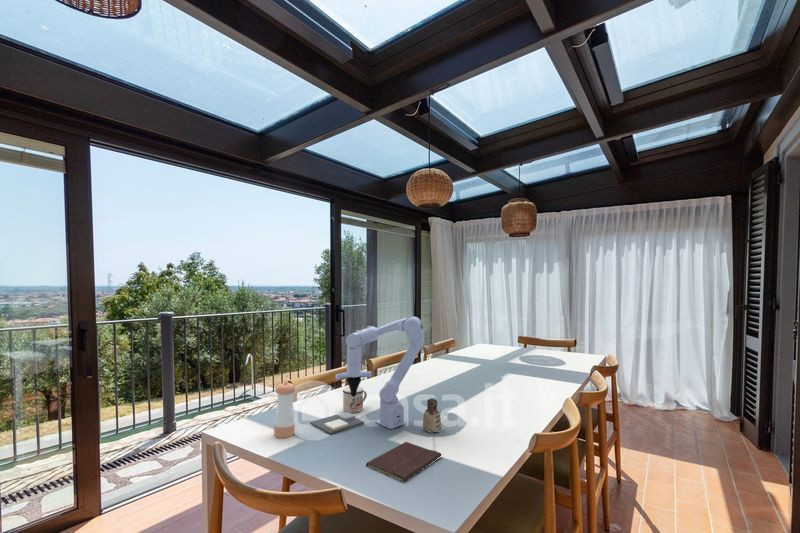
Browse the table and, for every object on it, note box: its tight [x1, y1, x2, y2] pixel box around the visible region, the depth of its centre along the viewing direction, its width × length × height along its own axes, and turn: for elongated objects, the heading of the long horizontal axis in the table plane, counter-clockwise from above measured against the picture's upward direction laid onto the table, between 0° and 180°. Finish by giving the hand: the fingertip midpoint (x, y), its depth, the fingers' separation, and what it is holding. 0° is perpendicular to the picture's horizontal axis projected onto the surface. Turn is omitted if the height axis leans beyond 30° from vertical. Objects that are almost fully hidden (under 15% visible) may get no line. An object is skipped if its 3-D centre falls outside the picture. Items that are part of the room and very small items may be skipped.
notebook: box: [365, 441, 442, 483], centre depth 119 cm, size 15×20×2 cm
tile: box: [324, 419, 348, 431], centre depth 145 cm, size 1×7×6 cm
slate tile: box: [336, 411, 356, 422], centre depth 154 cm, size 6×5×1 cm
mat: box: [309, 412, 365, 436], centre depth 150 cm, size 14×16×1 cm
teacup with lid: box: [342, 385, 368, 414], centre depth 167 cm, size 12×9×12 cm
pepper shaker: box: [273, 381, 296, 439], centre depth 140 cm, size 7×7×19 cm
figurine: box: [422, 397, 442, 432], centre depth 146 cm, size 7×7×12 cm
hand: (353, 395), depth 154 cm, fingers closed
